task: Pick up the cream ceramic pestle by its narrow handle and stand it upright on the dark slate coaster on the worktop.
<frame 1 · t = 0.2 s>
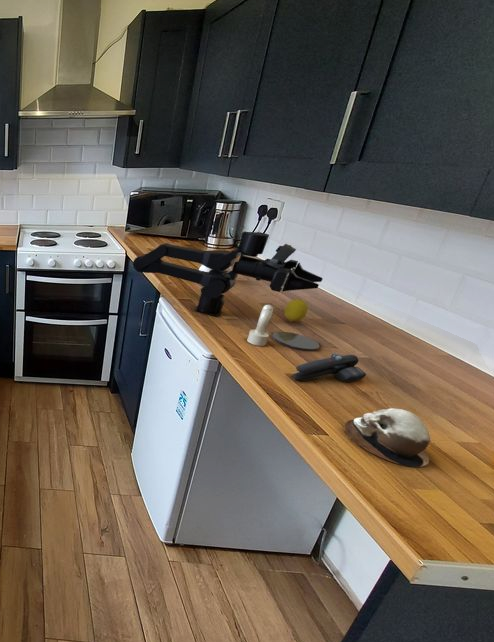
hand: (320, 283, 112), 17 cm above the worktop, tool horizontal, fingers open, 9 cm apart
skull: (383, 444, 76), on the worktop
lemon: (291, 322, 128), on the worktop
coaster: (294, 341, 115), on the worktop
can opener: (322, 378, 97), on the worktop
pestle: (256, 342, 114), on the worktop
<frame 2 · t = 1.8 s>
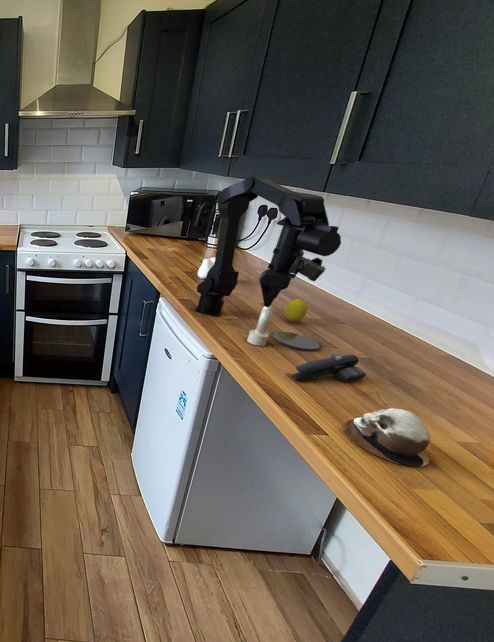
hand: (270, 302, 109), 12 cm above the worktop, tool pointing down, fingers open, 9 cm apart
nothing on the worktop moved.
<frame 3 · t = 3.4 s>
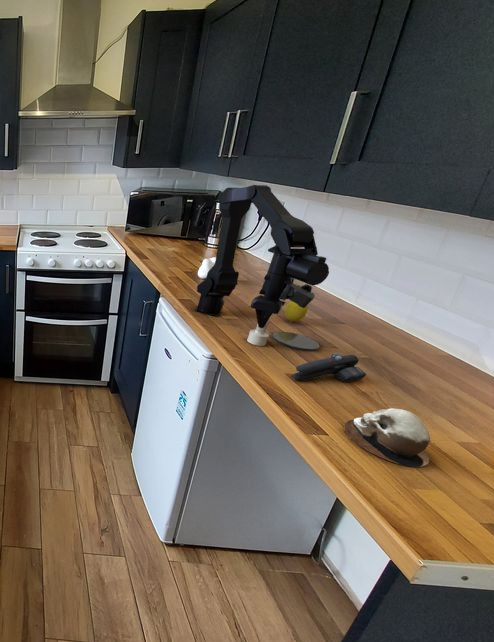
hand: (261, 326, 112), 5 cm above the worktop, tool pointing down, fingers closed on pestle, 2 cm apart
pestle: (256, 342, 114), on the worktop, touching gripper
everything else where it was.
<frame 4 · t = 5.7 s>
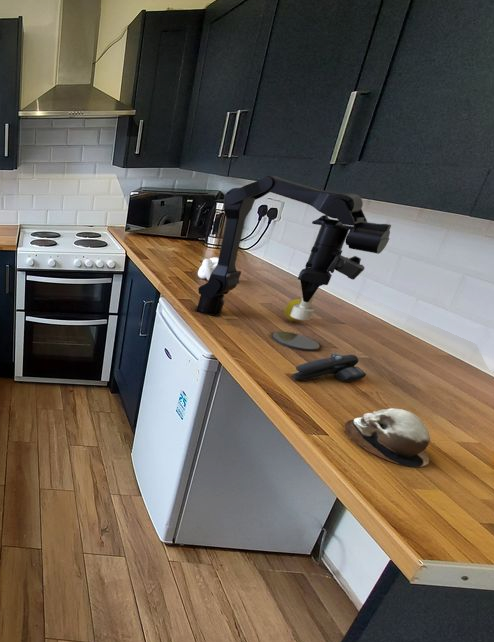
hand: (306, 300, 110), 13 cm above the worktop, tool pointing down, fingers closed on pestle, 2 cm apart
pestle: (299, 317, 112), point 8 cm above the worktop, touching gripper
everything else where it was.
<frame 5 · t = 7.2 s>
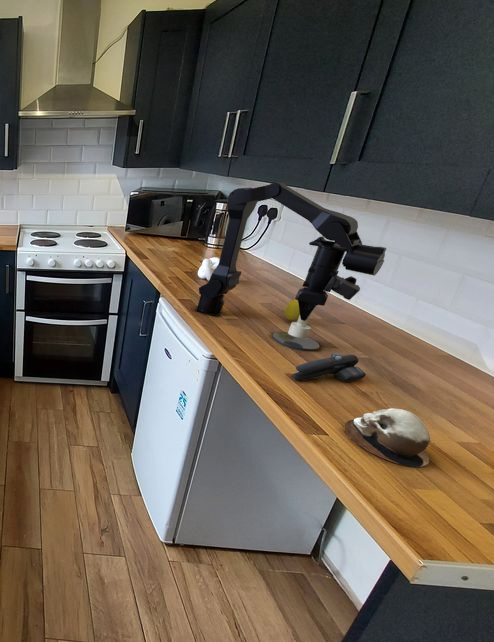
hand: (303, 318, 112), 7 cm above the worktop, tool pointing down, fingers closed on pestle, 2 cm apart
pestle: (297, 334, 114), point 2 cm above the worktop, touching gripper
everything else where it was.
when the fingers open (6 cm above the worktop, at t = 8.0 s): pestle stays where it is, resting on coaster.
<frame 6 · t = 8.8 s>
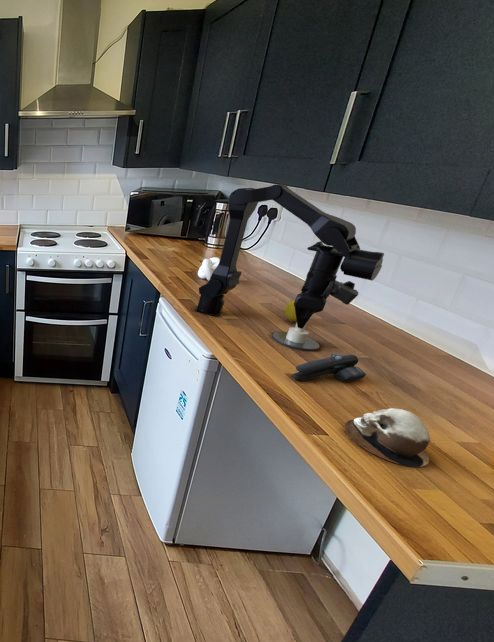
hand: (302, 323, 112), 6 cm above the worktop, tool pointing down, fingers open, 9 cm apart
pestle: (295, 339, 115), point 1 cm above the worktop, touching coaster
everything else where it was.
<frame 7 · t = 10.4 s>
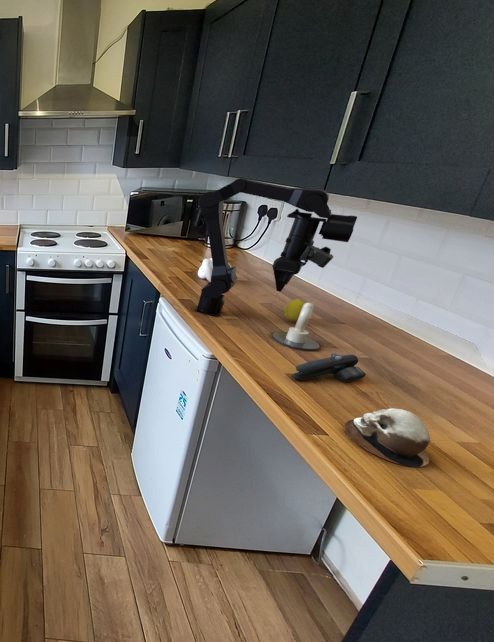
hand: (281, 287, 119), 13 cm above the worktop, tool pointing down, fingers open, 9 cm apart
nothing on the worktop moved.
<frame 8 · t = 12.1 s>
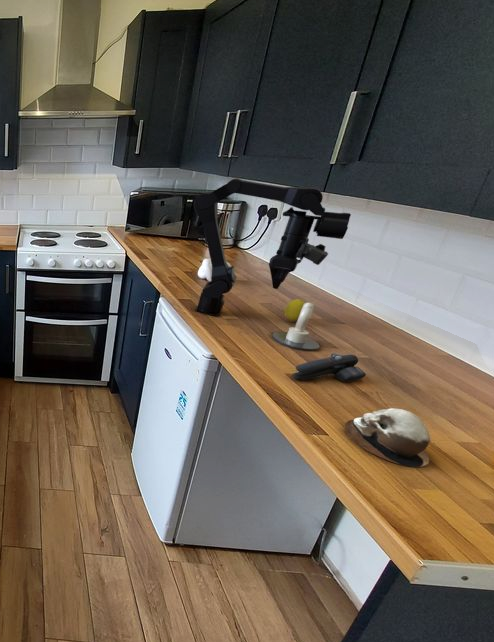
hand: (278, 285, 121), 13 cm above the worktop, tool pointing down, fingers open, 9 cm apart
nothing on the worktop moved.
at the end: pestle tilted 0°; pestle 0.1 cm off-centre on the coaster, point 0.6 cm above the coaster's base; the gripper is holding nothing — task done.
